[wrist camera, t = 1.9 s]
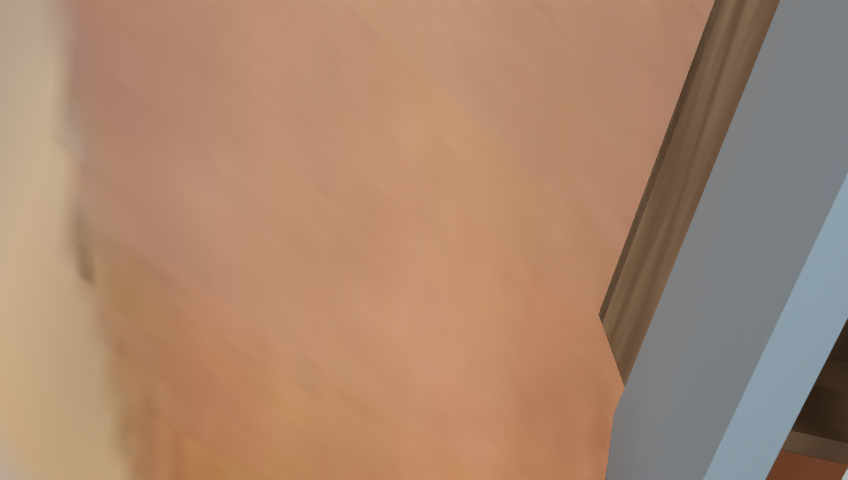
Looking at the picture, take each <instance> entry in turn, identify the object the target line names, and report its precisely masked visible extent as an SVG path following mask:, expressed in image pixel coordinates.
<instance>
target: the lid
mask: <svg viewBox="0 0 848 480" xmlns="http://www.w3.org/2000/svg"><path fill="white" fill-rule="evenodd" d="M847 318H848V0H780V2H779V5H778V7H777V10H776V12H775V15H774V17H773V20H772V22H771V25H770V27H769V29H768V32H767V34H766V37H765V39H764V42H763V44H762V47H761V49H760V52H759V54H758V57H757V59H756V62H755V64H754V67H753V69H752V72H751V74H750V77H749V79H748V82H747V84H746V87H745V89H744V92H743V94H742V97H741V99H740V102H739V104H738V107H737V109H736V112H735V114H734V117H733V119H732V122H731V124H730V127H729V129H728V132H727V134H726V137H725V139H724V142H723V144H722V147H721V149H720V152H719V154H718V157H717V159H716V162H715V164H714V166H713V169H712V171H711V174H710V176H709V179H708V181H707V184H706V186H705V189H704V191H703V194H702V196H701V199H700V201H699V204H698V206H697V209H696V211H695V214H694V216H693V219H692V221H691V224H690V226H689V229H688V231H687V234H686V236H685V239H684V241H683V244H682V246H681V249H680V251H679V254H678V256H677V259H676V261H675V264H674V266H673V269H672V271H671V274H670V276H669V279H668V281H667V284H666V286H665V289H664V291H663V294H662V296H661V298H660V301H659V303H658V306H657V308H656V311H655V313H654V316H653V318H652V321H651V323H650V326H649V328H648V331H647V333H646V336H645V338H644V341H643V343H642V346H641V348H640V351H639V353H638V356H637V358H636V361H635V363H634V366H633V368H632V371H631V373H630V376H629V378H628V381H627V383H626V386H625V388H624V391H623V393H622V396H621V398H620V401H619V403H618V406H617V408H616V411H615V413H614V418H613V425H612V433H611V441H610V448H609V456H608V463H607V471H606V479H605V480H765V479H766V477H767V475H768V473H769V471H770V470H771V468H772V466H773V464H774V462H775V460H776V458H777V456H778V454H779V452H780V450H781V448H782V446H783V444H784V442H785V440H786V438H787V436H788V434H789V432H790V430H791V428H792V426H793V424H794V422H795V420H796V419H797V417H798V415H799V413H800V411H801V409H802V407H803V405H804V403H805V401H806V399H807V397H808V395H809V393H810V391H811V389H812V387H813V385H814V383H815V381H816V379H817V377H818V375H819V373H820V371H821V369H822V368H823V366H824V364H825V362H826V360H827V358H828V356H829V354H830V352H831V350H832V348H833V346H834V344H835V342H836V340H837V338H838V336H839V334H840V332H841V330H842V328H843V326H844V324H845V322H846V320H847Z"/></svg>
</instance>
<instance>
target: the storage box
mask: <svg viewBox="0 0 848 480" xmlns="http://www.w3.org/2000/svg"><path fill="white" fill-rule="evenodd" d="M779 2H780V0H715V2H714V5H713V8H712V10H711V13H710V16H709V18H708V21H707V24H706V27H705V29H704V32H703V35H702V37H701V40H700V43H699V45H698V48H697V51H696V53H695V56H694V59H693V62H692V64H691V67H690V70H689V72H688V75H687V78H686V80H685V83H684V86H683V89H682V91H681V94H680V97H679V99H678V102H677V105H676V107H675V110H674V113H673V116H672V118H671V121H670V124H669V126H668V129H667V132H666V134H665V137H664V140H663V142H662V145H661V148H660V151H659V153H658V156H657V159H656V161H655V164H654V167H653V169H652V172H651V175H650V178H649V180H648V183H647V186H646V188H645V191H644V194H643V196H642V199H641V202H640V205H639V207H638V210H637V213H636V215H635V218H634V221H633V223H632V226H631V229H630V231H629V234H628V237H627V240H626V242H625V245H624V248H623V250H622V253H621V256H620V258H619V261H618V264H617V267H616V269H615V272H614V275H613V277H612V280H611V283H610V285H609V288H608V291H607V294H606V296H605V299H604V302H603V304H602V307H601V310H600V312H599V316H600V319H601V322H602V325H603V327H604V330H605V333H606V336H607V339H608V341H609V344H610V347H611V350H612V353H613V356H614V358H615V361H616V364H617V367H618V370H619V372H620V375H621V378H622V381H623V384H624V386H626V383H627V381H628V378H629V376H630V373H631V371H632V368H633V366H634V363H635V361H636V358H637V356H638V353H639V351H640V348H641V346H642V343H643V341H644V338H645V336H646V333H647V331H648V328H649V326H650V323H651V321H652V318H653V316H654V313H655V311H656V308H657V306H658V303H659V301H660V298H661V296H662V294H663V291H664V289H665V286H666V284H667V281H668V279H669V276H670V274H671V271H672V269H673V266H674V264H675V261H676V259H677V256H678V254H679V251H680V249H681V246H682V244H683V241H684V239H685V236H686V234H687V231H688V229H689V226H690V224H691V221H692V219H693V216H694V214H695V211H696V209H697V206H698V204H699V201H700V199H701V196H702V194H703V191H704V189H705V186H706V184H707V181H708V179H709V176H710V174H711V171H712V169H713V166H714V164H715V162H716V159H717V157H718V154H719V152H720V149H721V147H722V144H723V142H724V139H725V137H726V134H727V132H728V129H729V127H730V124H731V122H732V119H733V117H734V114H735V112H736V109H737V107H738V104H739V102H740V99H741V97H742V94H743V92H744V89H745V87H746V84H747V82H748V79H749V77H750V74H751V72H752V69H753V67H754V64H755V62H756V59H757V57H758V54H759V52H760V49H761V47H762V44H763V42H764V39H765V37H766V34H767V32H768V29H769V27H770V25H771V22H772V20H773V17H774V15H775V12H776V10H777V7H778V5H779ZM781 450H784V451H788V452H793V453H797V454H802V455H806V456H811V457H815V458H820V459H824V460H829V461H833V462H838V463H842V464H847V465H848V318H847V320H846V322H845V324H844V326H843V328H842V330H841V332H840V334H839V336H838V338H837V340H836V342H835V344H834V346H833V348H832V350H831V352H830V354H829V356H828V358H827V360H826V362H825V364H824V366H823V368H822V369H821V371H820V373H819V375H818V377H817V379H816V381H815V383H814V385H813V387H812V389H811V391H810V393H809V395H808V397H807V399H806V401H805V403H804V405H803V407H802V409H801V411H800V413H799V415H798V417H797V419H796V420H795V422H794V424H793V426H792V428H791V430H790V432H789V434H788V436H787V438H786V440H785V442H784V444H783V446H782V448H781Z"/></svg>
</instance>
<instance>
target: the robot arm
mask: <svg viewBox="0 0 848 480" xmlns="http://www.w3.org/2000/svg"><path fill="white" fill-rule="evenodd" d="M842 480H848V469H847V470H846V472H845V474H844V476H843V478H842Z"/></svg>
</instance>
